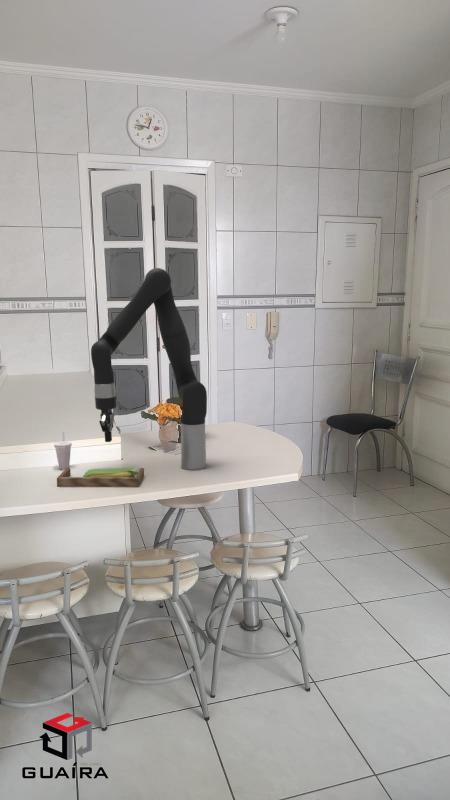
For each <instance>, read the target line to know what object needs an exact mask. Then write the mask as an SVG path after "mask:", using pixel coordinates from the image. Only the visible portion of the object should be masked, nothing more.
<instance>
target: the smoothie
mask: <svg viewBox="0 0 450 800" xmlns="http://www.w3.org/2000/svg"><path fill="white" fill-rule="evenodd" d="M53 444H54V447H53V448H55V453H56V458H57V463H58V464H57V465H58V469H59V470H65V469H66V468H70V463H71V452H72V451H71V449H72V448H71V447H72V445H73V444H72V441H68V440H65V432H64V431H62V441H57V442H55V443H53Z"/></svg>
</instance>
